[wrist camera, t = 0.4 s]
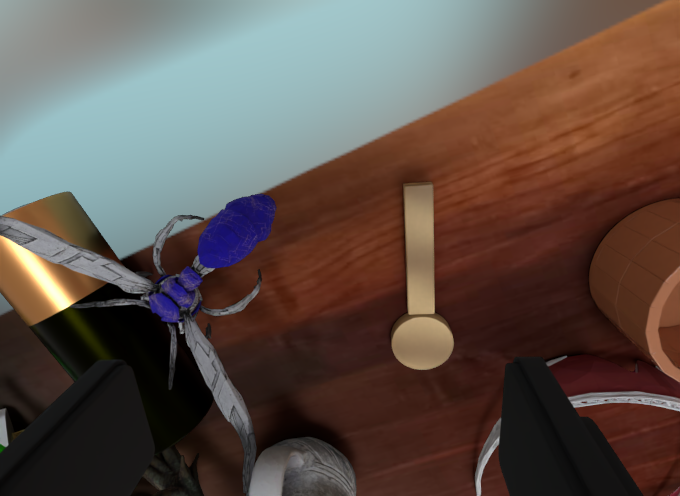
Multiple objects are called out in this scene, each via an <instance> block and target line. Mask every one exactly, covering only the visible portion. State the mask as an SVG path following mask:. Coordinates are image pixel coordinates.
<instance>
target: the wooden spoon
mask: <svg viewBox="0 0 680 496" xmlns="http://www.w3.org/2000/svg"><path fill="white" fill-rule="evenodd" d="M403 197H404V226H405V254H406V283H407V309H408V313H406V314H404V315H403V316H401V317H400V318H399V319H398V320H397V321H396V322H395V324H394V326H393V328H392V331H391V345H392V350H393V353H394V355H395V357H396V358H397V359H398V360H399V361H400V362H401V363H402V364H404V365H405V366H407V367H410V368H413V369H418V370H427V369H432V368H435V367H437V366H439V365H441V364H442V363H444V362H445V361H446V360H447V359H448V358H449V356H450V354H451V353H452V350H453V346H454V340H453V335H452V332H451V329H450V327H449V325H448V323H447V321H446V320H445V319H444V318H443V317H442V316H440V315H439V314H437V313H435V297H434V201H433V184H432V182H420V183H406V184H403Z"/></svg>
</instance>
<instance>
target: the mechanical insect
mask: <svg viewBox="0 0 680 496" xmlns="http://www.w3.org/2000/svg"><path fill="white" fill-rule="evenodd" d="M275 211H276V205H275V201H274V200H273V199H272V198H271V197H270V196H268V195H264V194H256V195H251V196H248V197H242V198H239V199H236V200H233V201H231V202H229V203H228V204H227V205H226V208H225V210H223V209H222V210H221V211H220V212H219V213H218V215H217V216H216V217H214V218H213V219H212V220H211V221H210V223H209V224H208V226H207V227H206V229H205V230H204V232H203V233H202V234H201V236H200V238H199V244H198V256H197V257H196V258H195V260H194V262H193V265H192V266H191V267H188V266H187V267H186V268H185V269H184V270H182V272H181V274H180V275H178V274H176V276H171V275H166V273H165V272H164V270H163V269H162V267H161V266H160V263H161V262H160V252H161V250H162V248H163V245H164V243H165V240H166V238H167V236H168V234H169V233H170V231H171V229H172V228H173V226H174V223H176V222H177V221H178V220H180V221H182V220H183V219H199V220H204V218H202V217H198V216H192V215H178V216H176V217H174V218H173V219H172V220H171V221H170V222H169V223H168V224H167V226H166V227H165V228H164V229H162V230H160V231H159V233H158V234H157V235H156V240H155V242H154V247H153V259H154V264H155V266H156V268H157V271H158V273H159V274H160V275H161V276H162V277H161V278H160V279H159V280H158V281H157V282H156V283H155V284H154V283H153V282H152V281H150V280H148V279H146V278H144V277H141V276H145V277H147V275H153V274H152V273H150V272H144V271H139V272H136V273H133V272H132V271H130V270H129V269H127V268H125V267H124V266H122V265H120V264H119V263H117V262H115V261H114V260H111V259H109V258H107V257H104V256H102V255H100V254H97V253H95V252H93V251H90V250H88V249H85V248H83V247H80V246H77V245H75V244H72V243H70V242H68V241H66V240H64V239H62V238H60V237H59V236H57V235H55V234H53V233H51V232H50V231H48V230H46V229H43V228H40V227H37V226H34V225H31V224H28V223H25V222H22V221H19V220H16V219H14V218H9V217H4V216H0V235H1V236H3V237H5V238H7V239H9V240H10V241H12V242H14V243H16V244H17V245H19V246H21V247H23V248H25V249H27V250H29V251H30V252H32V253H34V254H36V255H38V256H40V257H42V258H44V259H46V260H48V261H50V262H52V263H55V264H62V265H64V266H66V267H67V268H69V269H71V270H73V271H76V272H79V273H82V274H85V275H88V276H91V277H94V278H97V279H100V280H103V281H106V282H109V283H112V284H115V285H118V286H119V287H120V288H121V289H122V290H124V291H125V292H128V293H146V294H144V295H143V296H141V300H133V299H113V300H108V301H97V302H89V303H83V304H74V305H71V306H70V308H88V307H94V306H95V307H105V306H114V305H131V304H137V305H140V306H145V307H148V308H151V310H152V312H153V313H157V314H158V315H159V316H160V317H162V319H161V320H162V321H166V322H167V324H168V326H169V331H170V333H171V354H170V364H169V367H170V372H169V390H171V388H172V382H173V377H174V373H175V359H176V355H177V339H176V328H175V326H174V325H173V324H172V322H178V324H179V327H178V328H179V329H180V334H184V333H185V334H186V341H187V344H188V346H189V347H190V348H191V351H192V353H193V356H194V358H195V360H196V362H197V364H198V366H199V369H200V371H201V373H202V375H203V377H204V380H205V382H206V384H207V385H208V387H209V388H210V389H211V391H212V393H213V396H214V399H215V401H216V403H217V405H218V406H219V408H220V410H221V411H222V413H223V414H224V416H225V418H226V419H227V421H228V422H231V423H232V425H233V426H234V428H235V429H236V431H237V433H238V435H239V437H240V438H241V441H242V445H243V449H244V452H245V454H244V465H243V493H248V490H249V487H250V483H251V478H252V473H253V467H254V462H255V456H256V449H257V448H256V441H255V434H254V430H253V425H252V421H251V418H250V416H249V413H248V410H247V408H246V405H245V403H244V400H243V398H242V396H241V395H240V393H239V392H238V391H237V389H236V388H235V386H234V385H233V384H232V382H231V381H230V380H229V378H228V376H227V373H226V371H225V369H224V367H223V365H222V363H221V361H220V359H219V357H218V355H217V353H216V351H215V349H214V347H213V345H212V344H211V343H210V342H209V341H208V338H211V326H210V324H208V327H207V328H206V336H204V335H203V334H202V332H201V330H200V328H199V326H198V324H197V323H196V321H195V318H196V316H197V314H198V311H199V309H200V310H201V311H202V312H204V313H207V314H210V315H213V316H223V315H228V314H233V313H236V312H239V311H242V310H243V309H244V308H245V307H246V305H247V303H249V302H250V301H251V300H252V299H253V298H254V297H255V296H256V295H257V294H258V292H259V290H260V285H261V281H262V277H261V272H260V269H259V270H258V275H259V278H258V280H257V285H256V286H254V288H255V289H254V291H253V292H252V293H251V294H250V295H247V296H246V297H245V298H243V299H242V300H241V301H239V302H238V303H236V304H234V305H231V306H229V307H227V308H225V309H223V310H219V309H213V310H211V309H208V308H205V307H203V306H202V305H201V301H202V297H200V296H201V294H200V292H199V290H198V286H199V285H200V284H201V282H202V281H203V280H202V279H201V278H202V277H203V276H204V275H205V274H207V273H210V272H211V271H213V270H214V269H215V268H221V267H228V266H230V265H233V264H235V263H237V262H239V261H241V260H242V259H243V258H244V257H246V256H247V255H248V254H249V253H250V252H251V251H252V250H253V249H254V247H255V246H256V244H257V242H259V241H263V240H266V239H267V237H268V235H269V234H270V232H271V224H272V222H273V220H274V217H275ZM169 276H171V277H169ZM164 279H165V280H164ZM198 297H200V300H199V302H198V299H199V298H198ZM144 300H147V301H149V303H150V304H149V303H148V302H146V301H144ZM195 306H196V308H195ZM194 308H195V310H194ZM193 310H194V311H193ZM192 311H193V312H192ZM191 312H192V313H191ZM194 314H195V315H194ZM193 315H194V316H193ZM192 316H193V317H192ZM183 322H184V323H185V325H184V326H183Z"/></svg>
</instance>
